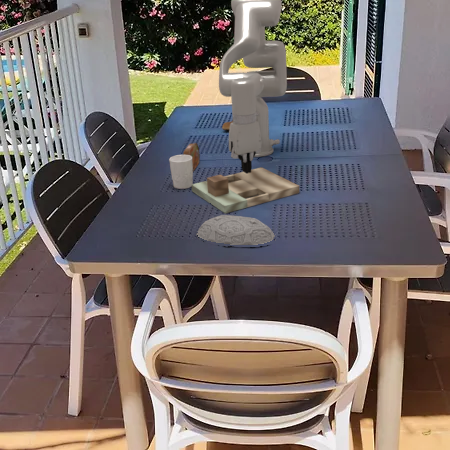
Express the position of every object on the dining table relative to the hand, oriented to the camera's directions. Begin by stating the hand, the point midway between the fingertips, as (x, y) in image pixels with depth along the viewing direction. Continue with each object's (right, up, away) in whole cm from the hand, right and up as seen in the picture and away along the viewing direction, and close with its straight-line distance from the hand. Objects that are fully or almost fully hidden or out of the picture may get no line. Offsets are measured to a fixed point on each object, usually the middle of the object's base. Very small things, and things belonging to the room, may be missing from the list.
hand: (246, 171), depth 199 cm
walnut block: (-9, -7, -4) cm, 13 cm away
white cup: (-22, -4, +11) cm, 25 cm away
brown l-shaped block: (0, +25, +71) cm, 76 cm away
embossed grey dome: (-4, -21, -28) cm, 35 cm away
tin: (-20, +4, +27) cm, 34 cm away
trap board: (-1, -7, +2) cm, 7 cm away
